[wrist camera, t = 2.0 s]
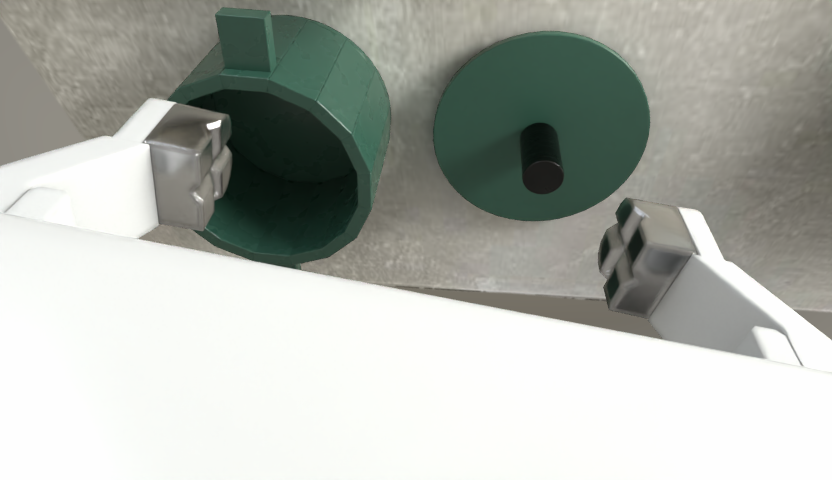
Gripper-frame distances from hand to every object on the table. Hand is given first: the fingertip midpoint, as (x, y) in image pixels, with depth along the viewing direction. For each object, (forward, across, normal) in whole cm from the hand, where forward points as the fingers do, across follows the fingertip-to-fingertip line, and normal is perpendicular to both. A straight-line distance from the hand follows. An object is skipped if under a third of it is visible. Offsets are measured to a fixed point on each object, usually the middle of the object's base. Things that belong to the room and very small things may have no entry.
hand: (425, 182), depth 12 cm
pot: (+25, +8, +14) cm, 29 cm away
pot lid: (+24, -8, +11) cm, 28 cm away
